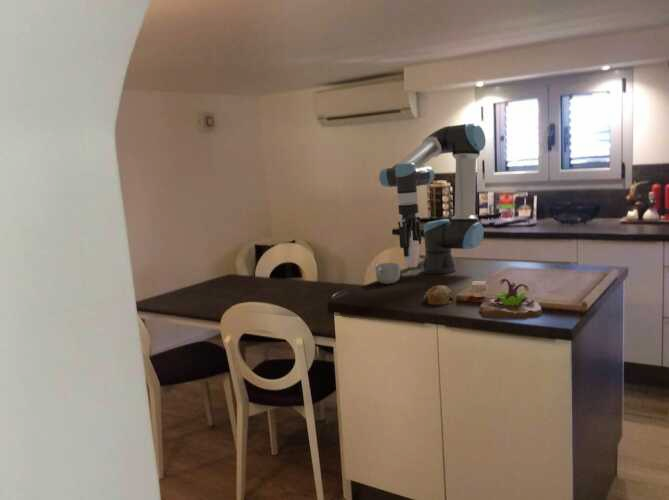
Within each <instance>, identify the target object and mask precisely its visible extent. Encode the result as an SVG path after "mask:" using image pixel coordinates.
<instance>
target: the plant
mask: <svg viewBox="0 0 669 500" xmlns="http://www.w3.org/2000/svg"><path fill="white" fill-rule="evenodd" d="M505 282H507V286H508V292H505V291H502V292H501V293H495V295H496V296H497V297H494V298H489V299H486V300H485V301H483V302H482V303H481V304H480V306H479V312H480V313H481V314H483V317H486V318H498V319H499V318H500V319H514V320H516V319H527V318H531V317H532V318H536V317H537V318H538V317H540V316H542V315H543V309H542V301H540V300H538V299H534V298H532V299H529V298H530V297H527V296H526V295H527V292H528V291H529V289H530V288H529V286H528V285H526V284H524V283H521V284H520V283H519V284H518V285H516V283H514V282H512V283H511V282H510V281H509V279H507V278H501V279H500V280H499V284H500V285H503V284H504V283H505ZM522 286H523V287H524V290H525V291H527V292H523V293H520V294H519V293H518V292H519V291H518V289H519V288H520V287H522ZM518 294H519V295H518Z"/></svg>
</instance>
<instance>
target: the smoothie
mask: <svg viewBox="0 0 669 500" xmlns="http://www.w3.org/2000/svg"><path fill="white" fill-rule="evenodd" d="M418 245H420V244H419V241H416V240H413V236H412V231H411V234H410V244H409V248H411V260H412V265H407V268H416V267H418V262H419V261H418Z"/></svg>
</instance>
